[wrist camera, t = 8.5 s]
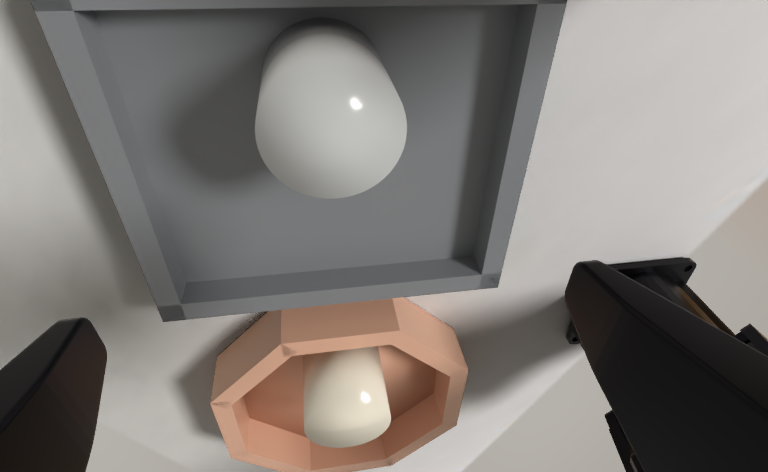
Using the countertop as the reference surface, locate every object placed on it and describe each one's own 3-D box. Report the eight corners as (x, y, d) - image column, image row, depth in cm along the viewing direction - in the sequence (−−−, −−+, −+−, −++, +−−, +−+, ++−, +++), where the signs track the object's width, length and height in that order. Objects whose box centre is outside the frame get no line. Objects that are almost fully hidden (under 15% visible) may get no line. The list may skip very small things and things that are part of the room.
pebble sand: (378, 324, 25) (392, 394, 22) (378, 372, 28) (390, 441, 25) (298, 333, 25) (299, 406, 22) (306, 381, 28) (308, 452, 24)
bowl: (462, 280, 26) (479, 321, 23) (438, 416, 34) (449, 456, 32) (200, 307, 24) (191, 354, 21) (246, 444, 32) (242, 488, 30)
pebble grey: (384, 16, 16) (411, 55, 12) (382, 134, 18) (403, 193, 15) (253, 18, 15) (242, 60, 12) (270, 140, 18) (266, 203, 14)
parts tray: (544, -42, 16) (574, -32, 14) (483, 258, 25) (497, 287, 23) (50, -42, 14) (17, -30, 12) (172, 288, 23) (163, 321, 21)
